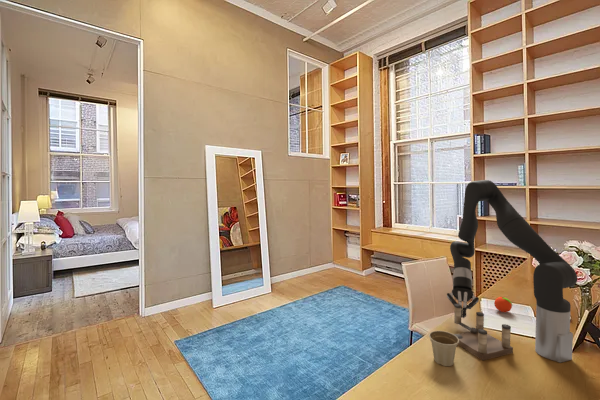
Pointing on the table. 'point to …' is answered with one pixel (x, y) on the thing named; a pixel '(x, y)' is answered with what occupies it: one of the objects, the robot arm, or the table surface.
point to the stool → (485, 341)
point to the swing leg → (458, 318)
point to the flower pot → (444, 347)
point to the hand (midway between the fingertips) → (462, 317)
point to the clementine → (503, 304)
